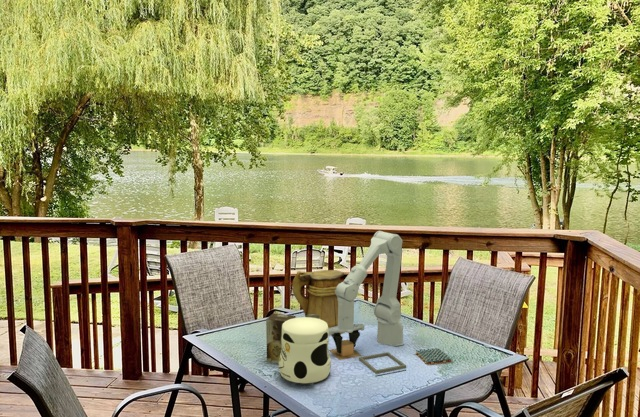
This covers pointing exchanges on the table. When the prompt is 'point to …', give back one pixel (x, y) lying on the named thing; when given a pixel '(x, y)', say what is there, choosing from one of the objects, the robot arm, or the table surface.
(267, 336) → the coffee box
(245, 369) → the table surface
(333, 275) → the tankard
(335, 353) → the post base
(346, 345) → the orange cube
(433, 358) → the woven mat
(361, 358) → the tray
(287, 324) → the milk container
